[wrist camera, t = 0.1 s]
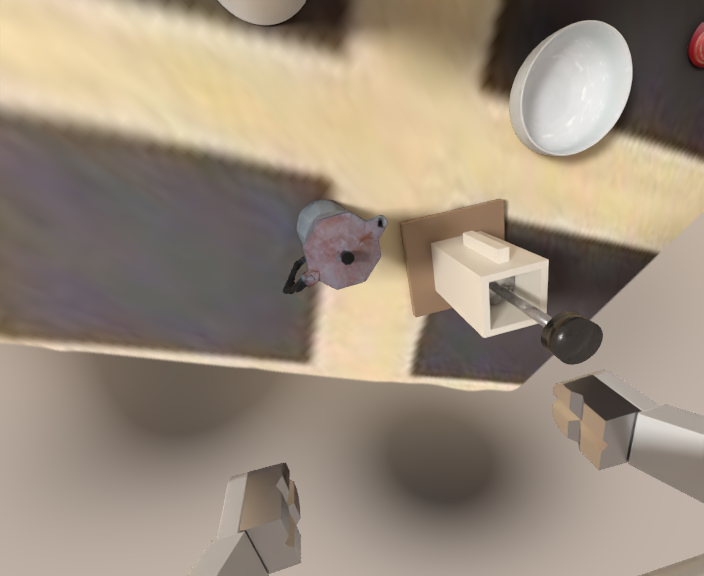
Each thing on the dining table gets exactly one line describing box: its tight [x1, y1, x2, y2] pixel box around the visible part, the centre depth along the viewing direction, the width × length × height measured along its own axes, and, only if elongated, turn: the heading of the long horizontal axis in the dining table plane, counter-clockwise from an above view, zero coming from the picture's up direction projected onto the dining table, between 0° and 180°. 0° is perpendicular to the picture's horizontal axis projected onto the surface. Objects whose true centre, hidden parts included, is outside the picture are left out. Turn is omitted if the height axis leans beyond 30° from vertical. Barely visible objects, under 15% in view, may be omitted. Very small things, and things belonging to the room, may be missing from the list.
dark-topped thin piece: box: [489, 276, 603, 364], centre depth 42 cm, size 6×6×17 cm
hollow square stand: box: [400, 199, 549, 338], centre depth 53 cm, size 18×18×18 cm
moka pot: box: [283, 200, 387, 294], centre depth 46 cm, size 10×15×20 cm, turn 130°
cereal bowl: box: [509, 20, 632, 156], centre depth 50 cm, size 17×17×7 cm
